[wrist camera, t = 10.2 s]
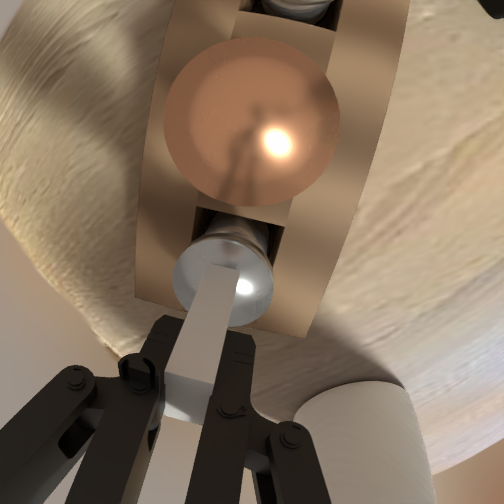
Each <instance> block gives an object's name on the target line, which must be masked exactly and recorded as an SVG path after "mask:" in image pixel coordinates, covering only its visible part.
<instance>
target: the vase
mask: <svg viewBox="0 0 504 504" xmlns="http://www.w3.org/2000/svg"><path fill="white" fill-rule="evenodd" d="M293 422H297V423H299V424H301V425H303V426H304V427H305V428H306V429H307V430H308V431H309V433H310V435H311V437H312V440H313V443H314V446H315V450H316V453H317V456H318V460H319V463H320V466H321V469H322V473H323V476H324V479H325V483H326V486H327V489H328V493H329V496H330V499H331V503H332V504H437V501H436V495H435V489H434V485H433V480H432V474H431V469H430V465H429V460H428V456H427V452H426V448H425V444H424V440H423V436H422V432H421V428H420V425H419V422H418V419H417V416H416V412H415V410H414V407H413V404H412V402H411V399H410V397H409V395H408V393H407V392H406V391H405V390H404V389H403V388H402V387H400V386H398V385H395V384H393V383H388V382H382V381H363V382H355V383H350V384H345V385H341V386H338V387H335V388H332V389H329V390H327V391H324V392H322V393H320V394H318V395H316V396H315V397H313V398H311V399H310V400H308V401H307V402H306V403H304V404H303V405H302V406H301V407H300V408H299V409H298V411H297V412H296V414H295V416H294V419H293Z"/></svg>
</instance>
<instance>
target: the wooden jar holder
mask: <svg viewBox="0 0 504 504" xmlns="http://www.w3.org/2000/svg"><path fill="white" fill-rule="evenodd" d="M253 3H254V0H175V2H174V6H173V9H172V12H171V16H170V20H169V23H168V27H167V31H166V35H165V39H164V43H163V47H162V51H161V55H160V60H159V64H158V69H157V73H156V78H155V83H154V89H153V94H152V99H151V105H150V111H149V117H148V123H147V130H146V137H145V144H144V152H143V160H142V169H141V179H140V189H139V201H138V215H137V232H136V258H135V297H136V298H139V299H143V300H146V301H149V302H153V303H156V304H160V305H163V306H167V307H171V308H174V309H178V310H182V311H186V312H188V311H187V310H186V309H185V308H184V307H183V306H182V304H181V303H180V302H179V300H178V298H177V296H176V294H175V292H174V288H173V283H172V275H173V270H174V267H175V264H176V262H177V260H178V259H179V257H180V255H181V254H182V252H183V251H184V249H185V248H186V247H187V246H188V245H189V244H190V243H191V242H193V241H194V240H195V239H197V238H199V237H201V236H203V234H204V228H205V222H206V216H207V210H208V209H212V210H216V211H221V212H225V213H229V214H234V215H238V216H242V217H247V218H251V219H255V220H259V221H263V222H267V223H272V224H276V225H279V226H278V229H277V233H276V236H275V240H274V244H273V247H272V251H271V254H270V258H269V261H270V263H271V266H272V269H273V273H274V289H273V297H272V300H271V303H270V305H269V307H268V308H267V310H266V311H265V312H264V313H263V314H262V315H261V316H260V317H259V318H257V319H256V320H254V321H252V322H251V323H248V324H245V325H242V326H247V327H251V328H256V329H260V330H265V331H270V332H274V333H279V334H284V335H289V336H294V337H299V338H305V336H306V334H307V332H308V330H309V327H310V325H311V323H312V321H313V318H314V316H315V314H316V311H317V309H318V307H319V304H320V302H321V300H322V297H323V295H324V293H325V290H326V288H327V285H328V283H329V280H330V278H331V275H332V273H333V270H334V268H335V265H336V263H337V260H338V258H339V255H340V252H341V250H342V247H343V245H344V242H345V239H346V237H347V234H348V231H349V228H350V226H351V223H352V220H353V217H354V214H355V212H356V209H357V206H358V203H359V200H360V197H361V194H362V191H363V188H364V185H365V182H366V179H367V176H368V173H369V169H370V166H371V163H372V160H373V157H374V153H375V150H376V147H377V143H378V140H379V136H380V133H381V129H382V126H383V122H384V118H385V115H386V111H387V107H388V103H389V100H390V96H391V92H392V87H393V83H394V79H395V75H396V71H397V66H398V62H399V57H400V52H401V47H402V43H403V37H404V32H405V27H406V21H407V16H408V10H409V3H410V0H336V4H335V8H334V12H333V16H332V21H331V25H330V29H329V30H328V29H325V28H321V27H317V26H314V25H310V24H306V23H302V22H298V21H293V20H289V19H284V18H279V17H274V16H269V15H263V14H257V13H251V10H252V7H253ZM245 37H258V38H266V39H271V40H275V41H279V42H282V43H285V44H287V45H289V46H292V47H294V48H295V49H297V50H299V51H301V52H302V53H304V54H305V55H306V56H308V57H309V58H310V59H311V60H313V61H314V62H315V64H316V65H317V66H318V67H319V68H320V69H321V70H322V71H323V73H324V74H325V75H326V77H327V78H328V80H329V82H330V84H331V86H332V87H333V90H334V92H335V95H336V98H337V101H338V106H339V110H340V134H339V139H338V144H337V147H336V150H335V153H334V155H333V157H332V159H331V161H330V163H329V165H328V166H327V168H326V169H325V171H324V172H323V173H322V175H321V176H320V177H319V178H318V179H317V180H316V181H315V182H314V183H313V184H312V185H311V186H309V187H308V188H307V189H306V190H304V191H303V192H301V193H300V194H298V195H296V196H294V197H292V198H290V199H288V200H286V201H283V202H280V203H277V204H272V205H267V206H259V207H245V206H237V205H231V204H228V203H224V202H221V201H219V200H216V199H214V198H212V197H210V196H208V195H206V194H205V193H203V192H201V191H200V190H198V189H197V188H196V187H195V186H193V185H192V184H191V183H190V182H189V181H188V180H187V179H186V178H185V177H184V176H183V175H182V173H181V172H180V171H179V169H178V168H177V166H176V165H175V163H174V161H173V160H172V157H171V155H170V153H169V151H168V148H167V144H166V141H165V136H164V129H163V116H164V107H165V103H166V99H167V96H168V93H169V91H170V88H171V86H172V84H173V82H174V81H175V79H176V77H177V76H178V74H179V73H180V72H181V70H182V69H183V68H184V67H185V66H186V65H187V64H188V63H189V62H190V61H191V60H192V59H193V58H194V57H196V56H197V55H198V54H200V53H201V52H203V51H204V50H206V49H208V48H209V47H211V46H214V45H216V44H219V43H221V42H224V41H228V40H232V39H237V38H245Z"/></svg>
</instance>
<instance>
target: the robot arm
mask: <svg viewBox="0 0 504 504" xmlns="http://www.w3.org/2000/svg"><path fill="white" fill-rule="evenodd" d="M240 272H241V271H240V270H235V269H231V268H227V267H223V266H219V265H215V264H211V263H209V265H208V267H207V269H206V271H205V274H204V276H203V278H202V281H201V283H200V286H199V288H198V290H197V293H196V295H195V297H194V300H193V302H192V304H191V307H190V309H189V312H188V314H187V316H186V319H185V320H183V319H179V318H175V317H172V316H168V315H163V316H162V317H161V318H159V319H158V320H157V321H155V323H154V325H153V327H152V329H151V332H150V333H149V335H148V337H147V340H146V341H145V343H144V345H143V347H142V349H141V351H140V353H133V354H128V355H126V356H124V357H122V358H121V359H120V361H119V362H118V368H119V375H120V376H119V377H113V378H112V377H111V378H108V377H95V376H94V375H93V373H92V372H91V371H90V370H89V369H88V368H85V367H83V366H78V365H72V366H68V367H66V368H65V369H63V370H62V371H61V372H60V373H59V374H57V375H56V376H55V377H54V378H53V379H52V380H51V381H50V382H49V383H48V384H47V385H46V386H45V387H44V388H43V389H41V390H40V391H39V392H38V393H37V394H36V395H35V396H34V397H33V398H32V399H31V400H30V401H29V402H28V403H27V404H26V405H25V406H24V407H23V408H22V409H21V410H20V411H19V412H18V413H17V414H16V415H15V416H14V417H13V418H12V419H11V420H10V421H9V422H8V423H7V424H6V425H5V426H4V427H3V428H2V429H1V430H0V504H43V503H44V502H45V500H46V499H47V498H48V496H49V495H50V494H51V493H52V492H53V491H54V489H55V488H56V487H57V486H58V485H59V483H60V482H61V481H62V480H63V479H64V477H65V476H66V475H67V474H68V472H69V471H70V470H71V469H72V468H73V466H74V465H75V464H76V463H77V462H78V460H79V459H80V458H81V457H82V455H83V454H84V453H85V452H86V453H85V455H84V458H83V460H82V462H81V465H80V467H79V469H78V472H77V474H76V476H75V479H74V482H73V484H72V486H71V489H70V491H69V494H68V496H67V499H66V501H65V504H137V502H138V498H139V495H140V492H141V488H142V485H143V482H144V478H145V475H146V472H147V469H148V466H149V462H150V459H151V456H152V453H153V450H154V447H155V443H156V440H157V437H158V434H159V431H160V426H161V418H162V415H163V412H164V415H165V416H169V417H172V418H176V419H180V420H184V421H187V422H191V423H195V424H199V425H203V428H202V432H201V436H200V440H199V444H198V449H197V453H196V457H195V462H194V466H193V470H192V474H191V479H190V483H189V487H188V492H187V496H186V500H185V504H239V500H240V492H241V484H242V477H243V470H244V467H245V468H247V469H250V470H251V472H252V478H253V483H254V489H255V494H256V500H257V504H332V503H331V499H330V496H329V493H328V489H327V486H326V483H325V479H324V476H323V473H322V469H321V466H320V463H319V460H318V456H317V453H316V450H315V446H314V443H313V440H312V437H311V435H310V433H309V431H308V430H307V429H306V428H305V427H304V426H303V425H301V424H299V423H297V422H292V421H285V422H281V423H279V424H276V423H274V422H272V421H270V420H268V419H265V418H264V417H262V416H260V415H259V414H258V413H257V412H256V411H255V410H254V408H253V407H252V405H251V402H250V392H251V384H252V375H253V365H254V357H255V349H256V345H255V342H254V340H253V337H252V335H247V334H243V333H238V332H234V331H230V330H227V327H228V323H229V319H230V314H231V310H232V306H233V302H234V297H235V293H236V289H237V284H238V280H239V276H240Z"/></svg>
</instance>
